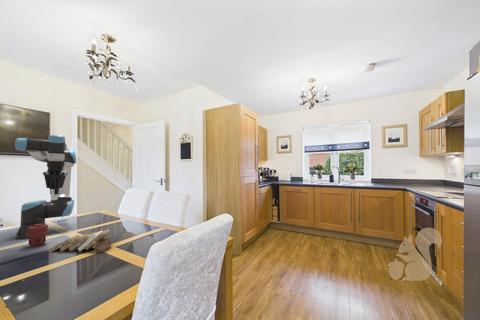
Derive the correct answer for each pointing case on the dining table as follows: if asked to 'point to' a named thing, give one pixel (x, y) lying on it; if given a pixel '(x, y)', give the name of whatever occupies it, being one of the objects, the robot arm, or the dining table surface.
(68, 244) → the domino
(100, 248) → the stop block
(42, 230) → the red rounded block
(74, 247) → the domino
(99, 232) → the domino
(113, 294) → the dining table surface
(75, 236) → the domino
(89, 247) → the domino
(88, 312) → the dining table surface
